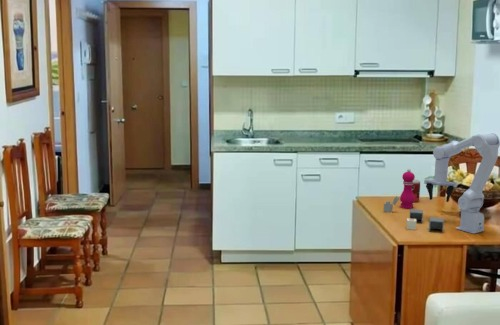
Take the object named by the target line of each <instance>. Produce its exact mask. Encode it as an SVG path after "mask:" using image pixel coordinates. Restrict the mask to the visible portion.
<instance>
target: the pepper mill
mask: <svg viewBox="0 0 500 325" xmlns="http://www.w3.org/2000/svg"><path fill="white" fill-rule="evenodd" d="M415 178H416V177H415V174H414V172H412V171H411V169H410V168H407V170H406V171H405V172H403V174H402V180H403V181H402V182H403V184H402V185H403V191H402V192H401V194H400V195H399V201H400V208H401V209H405V210H410V209H414V203H413V202H414V201H415V198H414V195H413V192H412V185H413V180H415Z"/></svg>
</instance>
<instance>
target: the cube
mask: <svg viewBox="0 0 500 325" xmlns="http://www.w3.org/2000/svg"><path fill="white" fill-rule="evenodd" d="M409 218H410V217H409ZM409 218H408V217H407V218H406V230H414V231H415V230H417V220H416V219H409Z"/></svg>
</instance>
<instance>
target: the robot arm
mask: <svg viewBox="0 0 500 325" xmlns="http://www.w3.org/2000/svg"><path fill="white" fill-rule="evenodd" d="M469 147H474V148H475V149H476V151H477V153H478V154H479V156H480V157H482V159H481V161H480V162H479V166H478V168H477V170H476V173H475V175H474V176H473V179H472V181H471V183H470V185H469V188H468V189H467V190H465V191H464V192H463V194H462V195H461V196H460V197H459V198H458V201H457V205H458V208H459V210H460V221H459V222H460V223H459V226H457V227H455V229H457V230H460V231H463V232H467V233H469V234H478V233H481V232H485V229H484V228H485V214H484V213H482V212H480V209H481V208H482V207H483V205H484V199H485V195H484V193H483V191H484V189H485V187H486V185H487V182H488V181H489V179H490V176H491V174H492V171H493V170H494V167H495V165H496V163H497V161H498V158H499V157H498V156H499V148H500V138H499V136H498V134H496V133H486V134H485V133H484V134H475V135H472V136H470V137H467V138H465V139H463V140H461V141H458V140H450V142H449V143H444V144H443V145H442V146H436V147H435V148H433V151H432V154H433V157H434V158H435V161H434V162H435V163H434V178H433V179H429V178H428V179H427V178H425V179H423V180H424V183H423V184H425V188H426V190H427V193H428V197H429V200H430V201H431V200H433V195H434V186H435V185H436V186H441V187H442V186H444V187H446V198H445V199H446V203H448V202H450V198H451V195H452V193H453V191H454V190H455V188H457V187H458V182H454V181H449V180H448V175H449V174H448V171H449V161H450V158H451V157H452V156H455V155H458V154H460V153H462V151H463V149H466V148H469Z"/></svg>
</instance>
